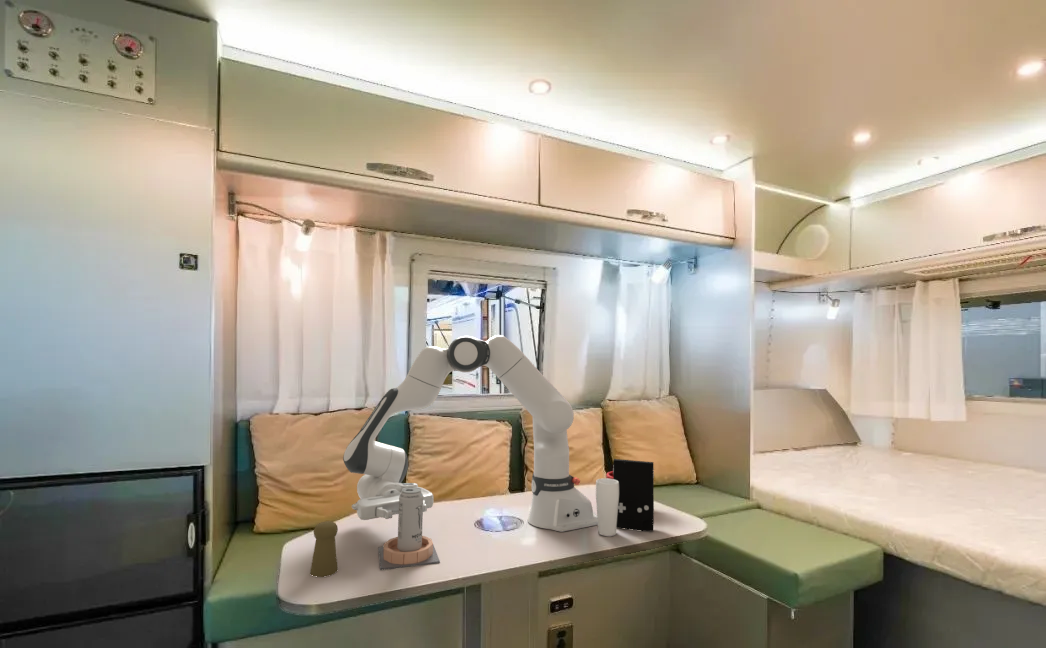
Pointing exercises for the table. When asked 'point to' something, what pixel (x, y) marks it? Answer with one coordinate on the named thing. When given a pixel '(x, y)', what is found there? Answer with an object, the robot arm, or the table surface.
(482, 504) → the table surface
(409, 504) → the energy drink can
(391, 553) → the dish
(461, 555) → the table surface
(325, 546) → the cork
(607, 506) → the drinking glass
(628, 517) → the handheld gaming console
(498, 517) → the table surface
